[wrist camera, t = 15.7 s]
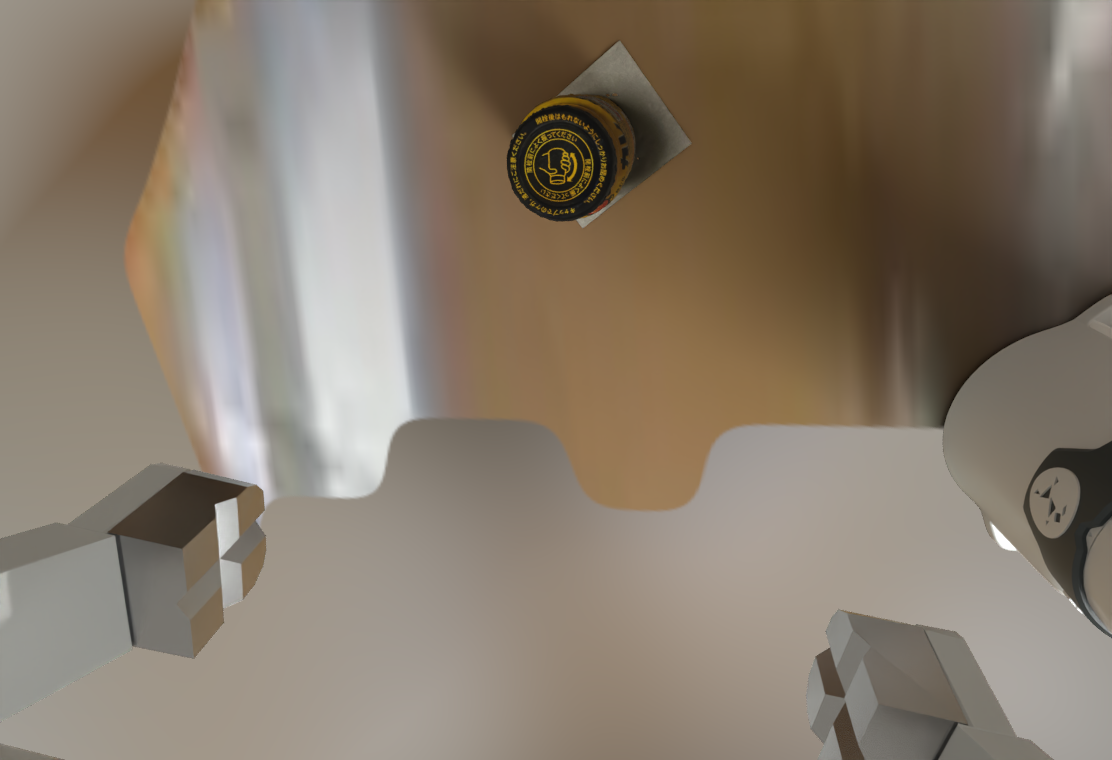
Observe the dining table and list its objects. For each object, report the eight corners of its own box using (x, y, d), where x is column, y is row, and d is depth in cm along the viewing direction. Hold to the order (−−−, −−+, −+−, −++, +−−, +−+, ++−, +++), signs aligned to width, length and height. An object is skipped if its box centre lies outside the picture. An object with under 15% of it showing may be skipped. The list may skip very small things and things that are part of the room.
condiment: (512, 135, 43) (459, 152, 32) (619, 40, 40) (601, 23, 29) (583, 227, 45) (555, 273, 34) (691, 142, 42) (699, 163, 31)
